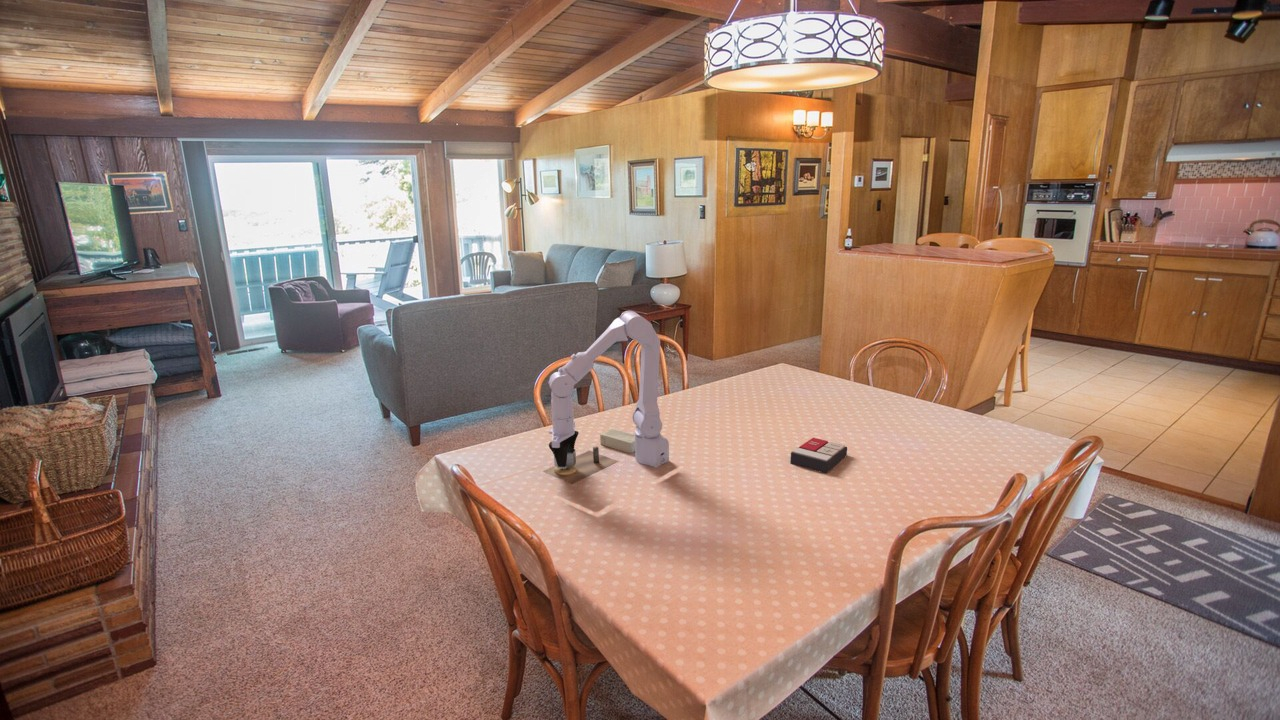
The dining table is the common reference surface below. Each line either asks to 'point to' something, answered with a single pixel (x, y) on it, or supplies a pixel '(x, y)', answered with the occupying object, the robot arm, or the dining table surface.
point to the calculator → (818, 455)
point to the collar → (569, 459)
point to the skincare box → (618, 440)
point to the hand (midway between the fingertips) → (565, 461)
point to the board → (582, 466)
